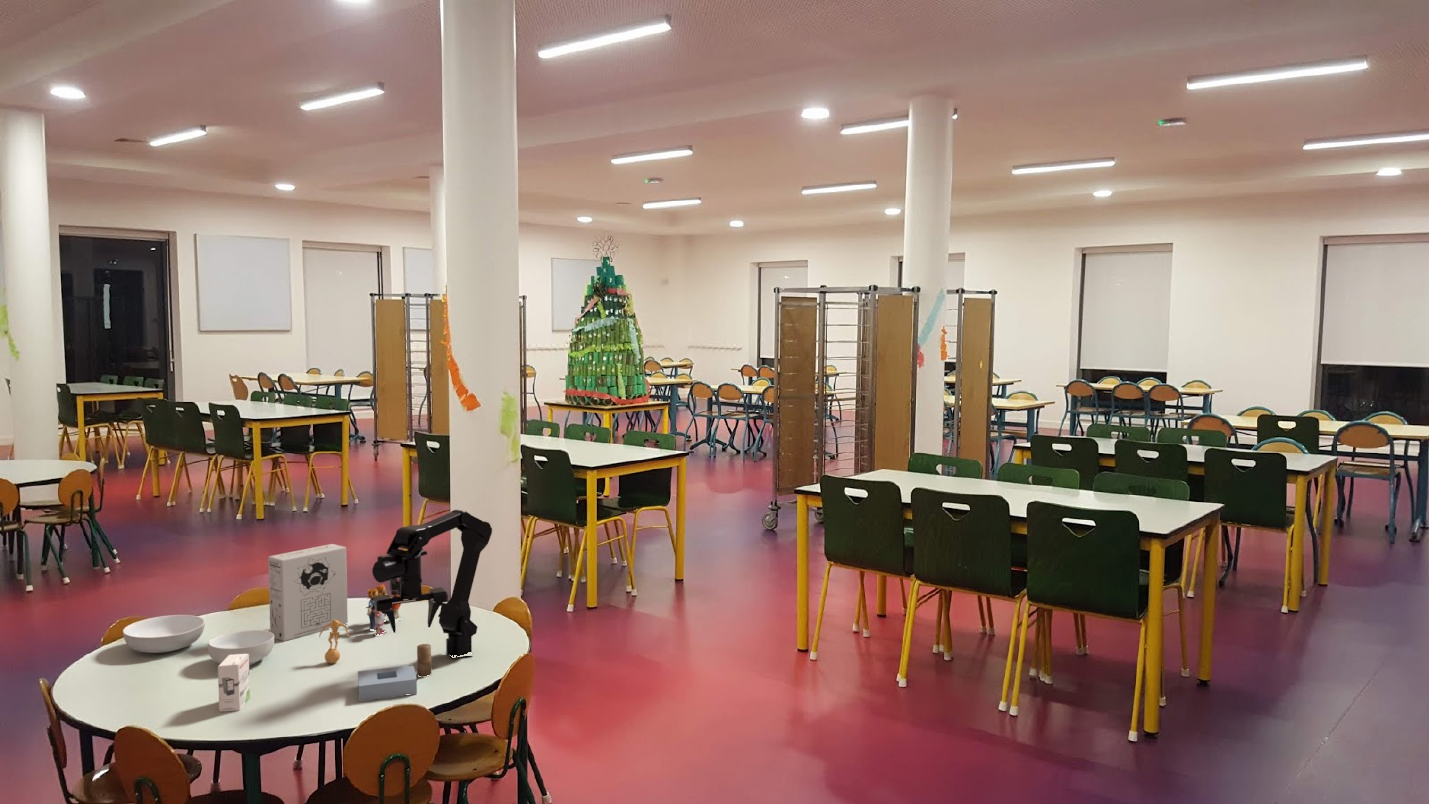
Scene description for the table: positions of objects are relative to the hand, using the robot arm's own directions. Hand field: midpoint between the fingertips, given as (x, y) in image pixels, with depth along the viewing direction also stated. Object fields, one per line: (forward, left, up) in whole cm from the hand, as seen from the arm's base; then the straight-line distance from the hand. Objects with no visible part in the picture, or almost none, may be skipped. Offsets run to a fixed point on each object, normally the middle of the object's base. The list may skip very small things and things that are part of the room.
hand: (411, 629), depth 260 cm
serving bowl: (+66, -46, -13) cm, 81 cm away
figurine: (+20, -17, -12) cm, 29 cm away
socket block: (+7, +10, -12) cm, 17 cm away
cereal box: (+27, -49, -12) cm, 57 cm away
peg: (-3, +2, -12) cm, 13 cm away
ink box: (+43, +7, -12) cm, 45 cm away
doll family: (+7, -45, -13) cm, 47 cm away
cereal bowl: (+44, -25, -13) cm, 52 cm away
